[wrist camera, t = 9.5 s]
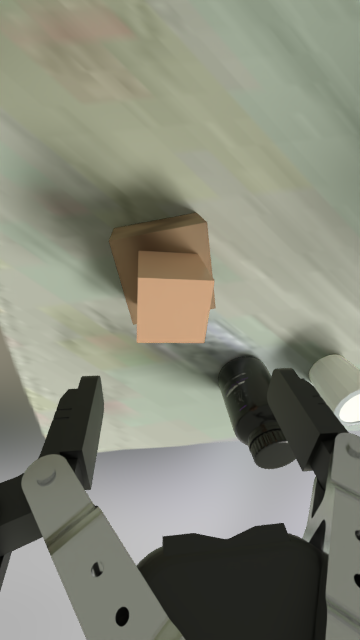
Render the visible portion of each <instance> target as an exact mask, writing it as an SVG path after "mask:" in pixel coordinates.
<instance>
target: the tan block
mask: <svg viewBox="0 0 360 640" xmlns="http://www.w3.org/2000/svg"><path fill="white" fill-rule="evenodd" d="M213 287H214V279H213V277H212V276H211V274H210V273H209V271H208V269H207V268H206V266H205V264H204V263H203V261H202V259H201V258H200V256H199V255H198V254H192V253H173V252H155V251H138V298H137V343H204V341H205V335H206V329H207V323H208V317H209V311H210V305H211V299H212V293H213Z"/></svg>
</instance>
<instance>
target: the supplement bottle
mask: <svg viewBox="0 0 360 640" xmlns="http://www.w3.org/2000/svg"><path fill="white" fill-rule="evenodd" d="M271 377H272V376H271V374H270V373H269V371H268V369H267V368H266V366H265V365H264V363H263V362H261V361H260V360H259V359H256V358H253V357H240V358H236V359H234V360H232V361H230V362H228V363H227V364H226V365H225V366H224V367H223V368H222V370H221V371H220V373H219V377H218V383H219V387H220V390H221V393H222V396H223V399H224V402H225V405H226V408H227V411H228V414H229V417H230V421H231V424H232V427H233V430H234V432H235V435H236V436H237V438H238V439H239V440H240V441H241V442H242V443H244V444H246V445H248V447H249V450H250V452H251V454H252V456H253V459H254V462H255V463H256V465H258V466H259V467H261V468H264V469H275V468H279V467H283V466H285V465H287V464H289V463H291V462H293V461H294V460H295V459H296V457H295V455H294V454H293V452H292V450H291V448H290V446H289V444H288V442H287V440H286V438H285V436H284V434H283V432H282V430H281V428H280V426H279V424H278V422H277V420H276V418H275V416H274V414H273V412H272V410H271V408H270V407H269V404H268V400H267V392H268V388H269V384H270V381H271Z"/></svg>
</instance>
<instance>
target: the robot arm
mask: <svg viewBox="0 0 360 640" xmlns="http://www.w3.org/2000/svg"><path fill="white" fill-rule="evenodd" d="M267 400H268V404H269V407H270V408H271V410H272V412H273V414H274V416H275V418H276V420H277V422H278V424H279V426H280V428H281V430H282V432H283V434H284V436H285V438H286V440H287V442H288V444H289V446H290V448H291V450H292V452H293V454H294V455H295V457H296V459H297V461H298V463H299V465H300V467H301V469H302V471H314V473H315V475H316V477H315V480H314V485H313V491H312V498H311V503H310V510H309V516H308V522H307V526H306V529H305V532H304V535H303V538H302V539H301V538H300V537H298V536H295V535H292V534H288V533H287V531H286V528H285V525H284V523H279V524H270V525H261V526H255V527H252V528H250V529H248V530H246V531H244V532H242V533H240V534H238V535H236V536H234V537H232V538H229V539H220V538H215V537H210V536H205V535H200V534H195V533H190V534H182V535H173V536H164V537H163V546H162V547H160V548H158V549H156V550H154V551H153V552H151V553H150V554H148V555H147V556H146V557H145V558H144V559H142V560H141V561H140V562H139V564H138V565H137V566H136V565H135V563H134V562H133V560H132V558H131V557H130V555H129V554H128V552H127V551H126V549H125V547H124V546H123V544H122V542H121V541H120V539H119V538H118V536H117V534H116V533H115V531H114V530H113V528H112V526H111V525H110V523H109V522H108V520H107V518H106V517H105V515H104V514H103V512H102V511H101V509H100V508H99V507H98V506H95V505H94V504H93V503H92V501H91V499H90V498H89V496H88V495H87V493H86V491H85V490H90V489H91V485H92V479H93V473H94V467H95V462H96V456H97V450H98V444H99V437H100V431H101V425H102V419H103V413H104V400H103V392H102V385H101V378H100V376H82V377H81V380H80V383H79V387H78V389H69V390H68V391H67V392H66V393H65V394H64V395H63V396H62V397H61V399H60V401H59V404H58V407H57V411H56V412H55V415H54V418H53V421H52V423H51V426H50V429H49V432H48V435H47V437H46V440H45V443H44V446H43V448H42V451H41V454H40V456H39V458H38V459H37V460H36V461H34V462H33V463H32V464H31V465H30V466H29V467H28V468H27V470H26V471H25V473H23V474H21V475H20V476H18V477H15V478H13V479H10V480H7V481H5V482H2V483H0V590H1V586H2V583H3V580H4V576H5V573H6V570H7V566H8V563H9V559H10V556H11V553H12V551H14V550H16V549H18V548H20V547H22V546H24V545H26V544H29V543H31V542H33V541H35V540H37V539H39V538H41V537H43V538H44V541H45V543H46V545H47V548H48V550H49V553H50V555H51V558H52V560H53V562H54V564H55V567H56V569H57V571H58V574H59V576H60V578H61V581H62V583H63V585H64V587H65V590H66V592H67V595H68V597H69V599H70V601H71V604H72V606H73V609H74V611H75V613H76V616H77V618H78V620H79V623H80V625H81V627H82V630H83V632H84V634H85V637H86V639H87V640H360V437H359V436H357V435H354V434H351V433H348V431H347V430H346V429H345V427H344V426H343V425H342V423H341V422H340V421H339V419H338V418H337V417H336V415H335V414H334V413H333V411H332V410H331V409H330V407H329V406H328V405H326V402H325V401H324V400H323V398H322V397H320V394H319V393H318V392H317V390H316V389H315V388H314V386H312V385H311V384H310V383H309V382H307V381H306V380H305V379H300V378H299V377H298V375H297V374H296V373H295V371H294V370H293V369H292V368H282V369H274V371H273V374H272V377H271V381H270V384H269V388H268V392H267Z"/></svg>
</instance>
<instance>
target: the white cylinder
mask: <svg viewBox="0 0 360 640" xmlns="http://www.w3.org/2000/svg"><path fill="white" fill-rule="evenodd" d="M309 378H310V380H311V382H312V384H313V385H314V387H315V389H316V390H317V392H318V393H319V394H320V397H322V398H323V400H324V401H325V402H326V405H328V406H329V407H330V409H331V410H332V411H333V413H334V414H335V415H336V417H337V418H338V419H339V421H340V422H341V423H342V425H346V426H352V425H357V424H360V370H359V369H358V368H357V367H355V366H354V365H353V364H352V363H350V362H349V361H348V360H346V359H345V358H344V357H343V356H341V355H336V354H334V355H328V356H325V357H323V358H321V359H319V360H318V361H317V362H316V363H315V364H314V365H313V366H312V368H311V369H310V371H309Z"/></svg>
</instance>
